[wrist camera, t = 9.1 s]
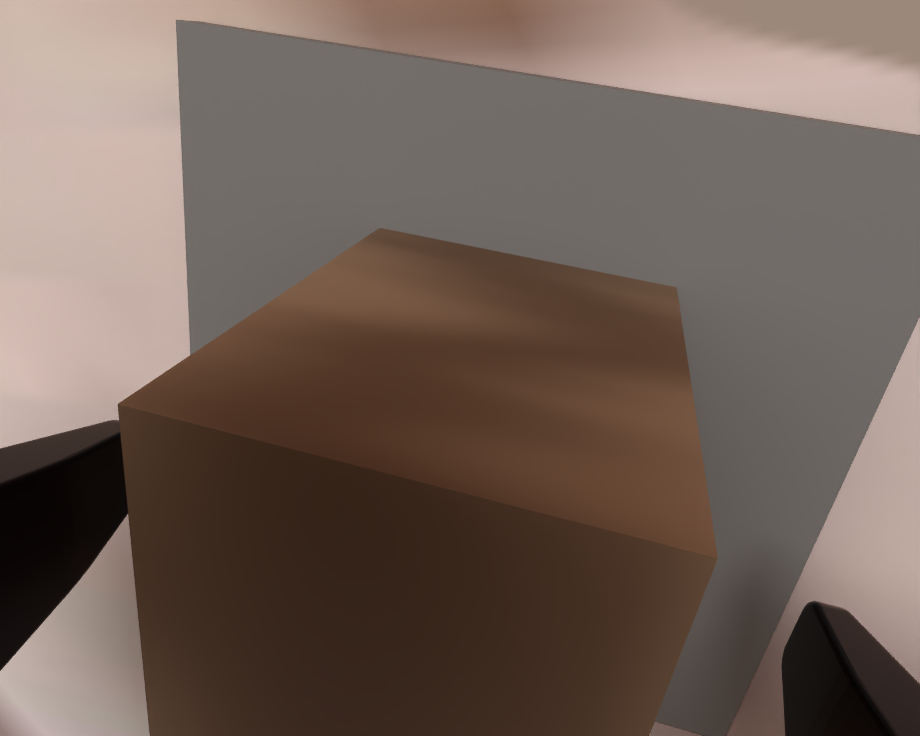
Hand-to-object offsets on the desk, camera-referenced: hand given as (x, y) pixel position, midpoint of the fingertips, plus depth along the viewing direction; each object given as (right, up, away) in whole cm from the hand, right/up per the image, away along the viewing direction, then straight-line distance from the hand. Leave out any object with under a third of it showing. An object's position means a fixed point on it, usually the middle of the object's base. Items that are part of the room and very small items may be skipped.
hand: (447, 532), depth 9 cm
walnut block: (+1, +1, +2) cm, 3 cm away
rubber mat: (+1, +1, +3) cm, 3 cm away
